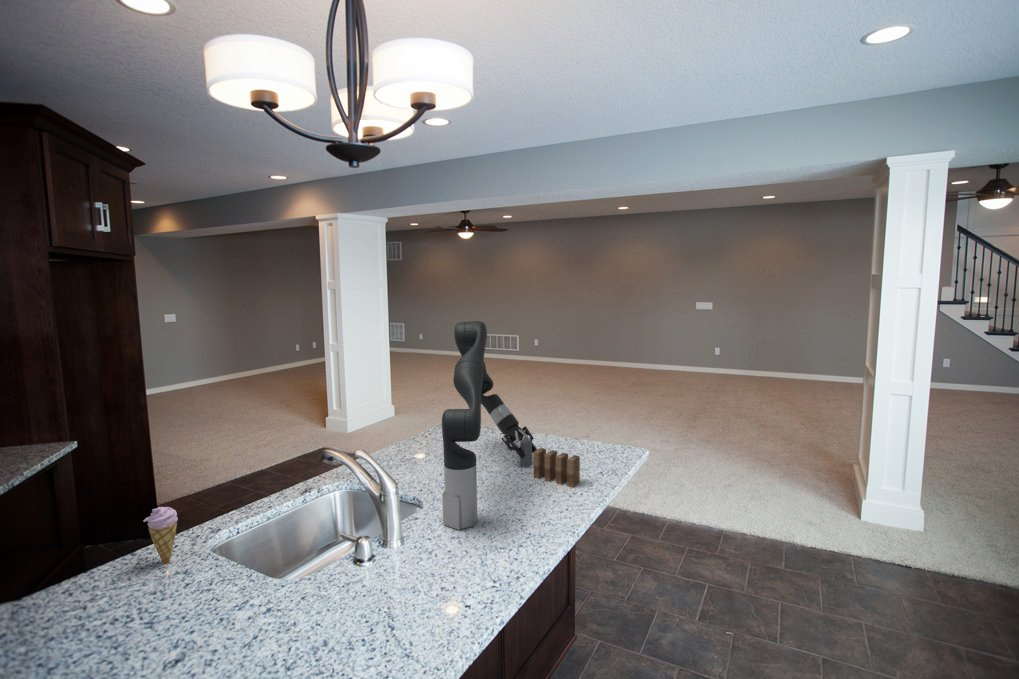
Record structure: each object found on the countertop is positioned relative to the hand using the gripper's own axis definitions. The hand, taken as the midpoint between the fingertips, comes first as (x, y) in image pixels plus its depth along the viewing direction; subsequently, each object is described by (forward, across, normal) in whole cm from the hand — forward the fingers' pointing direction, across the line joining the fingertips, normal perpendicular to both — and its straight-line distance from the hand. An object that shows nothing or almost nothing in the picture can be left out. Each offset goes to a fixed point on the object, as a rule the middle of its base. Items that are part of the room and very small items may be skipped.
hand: (529, 454), depth 191 cm
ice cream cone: (-24, -107, +31) cm, 114 cm away
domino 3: (+12, -6, -6) cm, 15 cm away
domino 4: (+16, -6, -9) cm, 19 cm away
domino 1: (+2, 0, +4) cm, 5 cm away
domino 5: (+19, -6, -12) cm, 23 cm away
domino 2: (+9, -6, -3) cm, 11 cm away
